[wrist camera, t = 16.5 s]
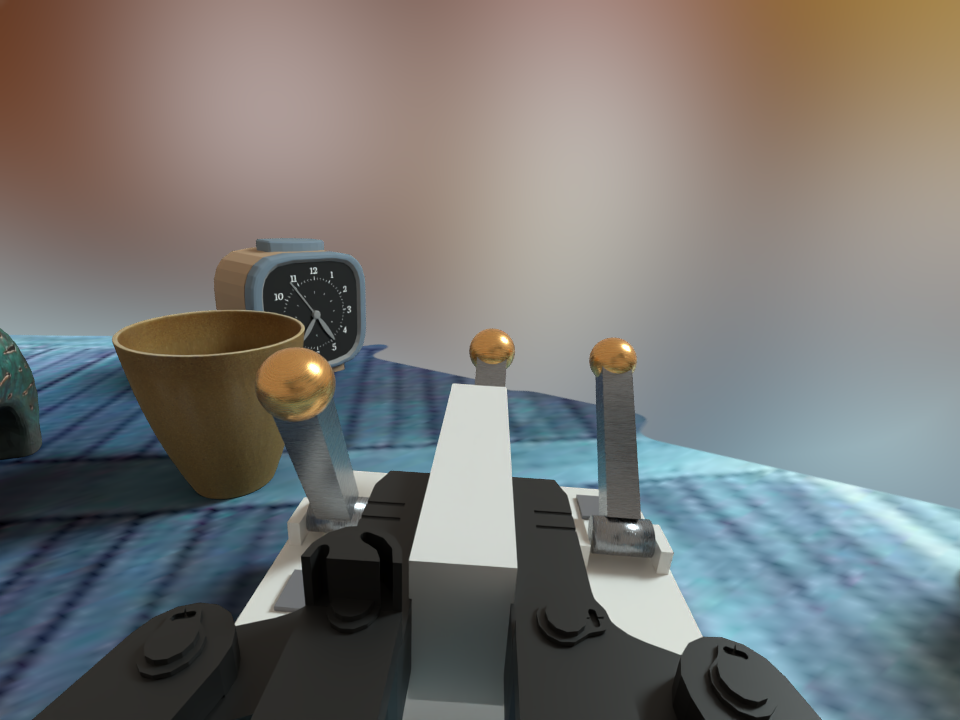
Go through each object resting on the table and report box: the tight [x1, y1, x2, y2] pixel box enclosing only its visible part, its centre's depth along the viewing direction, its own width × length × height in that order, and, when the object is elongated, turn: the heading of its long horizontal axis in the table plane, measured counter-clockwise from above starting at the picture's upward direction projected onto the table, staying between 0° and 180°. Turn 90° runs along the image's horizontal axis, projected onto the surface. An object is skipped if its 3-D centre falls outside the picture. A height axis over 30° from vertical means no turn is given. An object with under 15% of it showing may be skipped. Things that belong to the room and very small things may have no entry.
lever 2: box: [588, 338, 656, 558], centre depth 29 cm, size 3×3×14 cm
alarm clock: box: [214, 238, 366, 372], centre depth 71 cm, size 21×10×22 cm, turn 147°
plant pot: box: [112, 310, 305, 499], centre depth 43 cm, size 15×15×16 cm
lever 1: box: [255, 347, 369, 533], centre depth 23 cm, size 3×3×14 cm
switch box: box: [235, 471, 703, 720], centre depth 28 cm, size 24×14×10 cm, turn 88°
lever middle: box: [469, 329, 515, 387], centre depth 29 cm, size 3×3×14 cm
